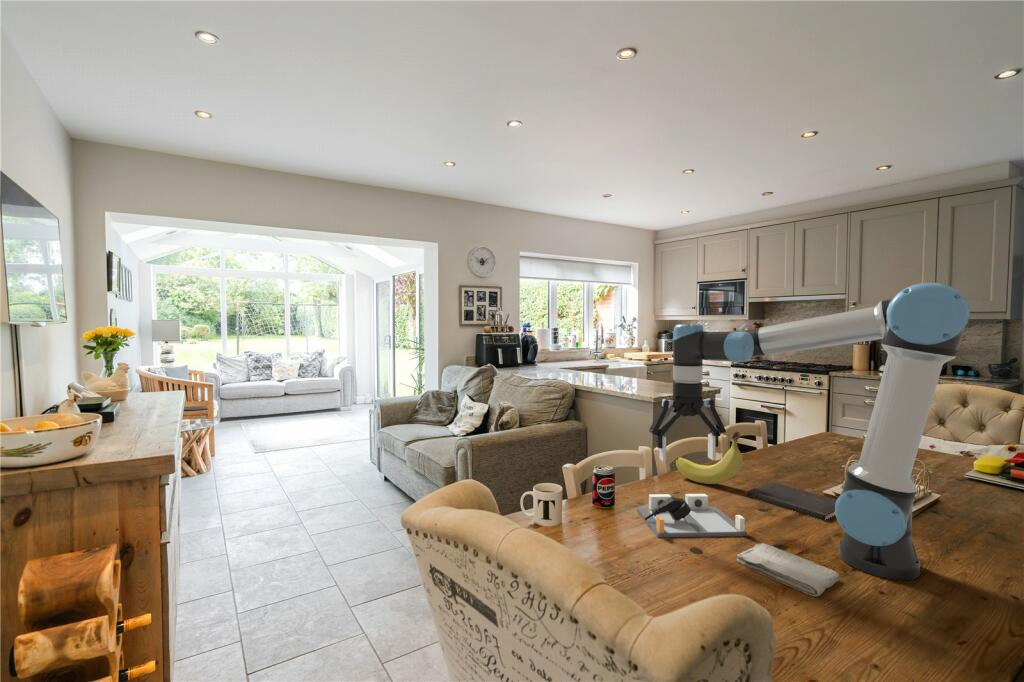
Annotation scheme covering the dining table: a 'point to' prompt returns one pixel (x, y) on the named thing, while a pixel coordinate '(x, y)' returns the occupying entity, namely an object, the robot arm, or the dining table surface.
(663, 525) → the board
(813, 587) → the washcloth
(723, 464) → the banana
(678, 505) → the power plug
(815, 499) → the hardcover book
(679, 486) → the dining table surface
